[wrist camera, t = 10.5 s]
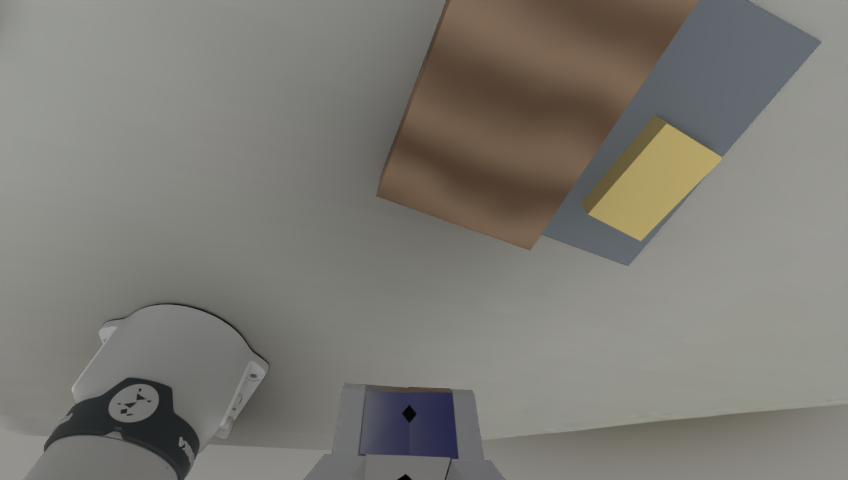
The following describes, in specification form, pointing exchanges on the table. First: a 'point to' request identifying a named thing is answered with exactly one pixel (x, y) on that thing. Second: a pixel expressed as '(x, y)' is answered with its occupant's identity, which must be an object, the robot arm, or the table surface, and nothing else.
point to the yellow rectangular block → (649, 179)
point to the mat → (691, 104)
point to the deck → (520, 106)
